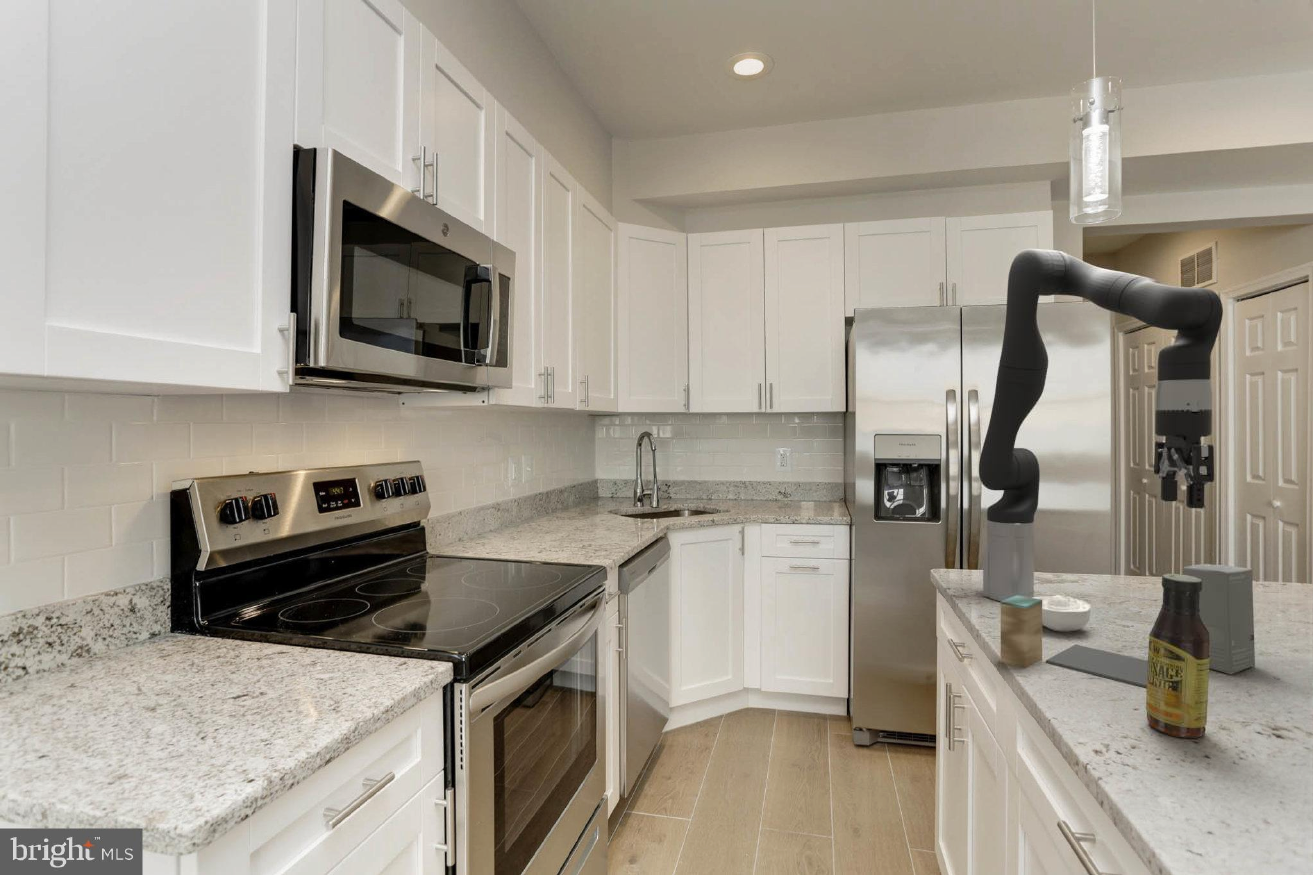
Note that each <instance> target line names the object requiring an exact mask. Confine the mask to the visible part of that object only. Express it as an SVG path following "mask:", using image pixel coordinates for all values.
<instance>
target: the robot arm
mask: <svg viewBox="0 0 1313 875" xmlns="http://www.w3.org/2000/svg"><path fill="white" fill-rule="evenodd" d="M1007 279H1008V280H1007V289H1006V290H1007V292H1006V293H1007V294H1006V308H1005V311H1006V312H1005V313H1006V314H1005V323H1004V332H1003V340H1002V346H1001V354H1000V359H999V363H998V368H997V374H996V381H995V382H996V383H995V391H994V396H993V397H994V398H993V403H992V406H991V408H992V409H991V413H990V419H989V424H988V427H987V430H986V434H985V438H984V442H983V446H982V448H981V453H980V457H979V461H978V475H979V479H980V482H981V484H982V485H983V486H984V488H986V489H987V490H990V491H1003V492H1002V496H1001V498H1000V499H999V500H997V501H995V503H993V504H991V505H990V506H988V508H987V511H986V542H987V543H986V545H987V546H986V549H987V550H986V552H985V553H983V555H982V578H983V579H982V590H983V591H982V595H983V596H982V597H986V598H989V599H992V600H995V601H998V602H999V601H1000V602H1001V601H1003V600H1006V599H1008V598H1011V597H1014V596H1017V595H1019V596H1024V597H1029V598H1033V597H1035V551H1034V550H1035V515H1036V512H1037V510H1038V506H1039V497H1040V496H1039V494H1040V479H1041V478H1040V477H1041V476H1040V475H1041V474H1040V472H1041V471H1040V465H1039V461H1038V458H1037V456H1036V455H1035V453H1034V452H1033V451H1031V450H1030V449H1028V448H1025V447H1015V444H1016V440H1017V436H1018V433H1019V430H1020V428H1021V426H1022V425H1023V423H1024V421H1025V419H1026V418H1027V417H1028V416H1029V414H1030V413H1031V411H1033V409H1034V407H1035V406H1036V405H1037V403H1038V401H1039V400H1040V398H1041V397H1042V394H1043V392H1044V391H1045V390H1044V389H1045V386H1046V379H1047V375H1048V374H1047V373H1048V368H1049V357H1048V356H1049V355H1048V351H1047V349H1046V346H1045V343H1044V341H1043V336H1042V335H1041V332H1040V330H1039V326H1038V319H1037V314H1038V304H1039V299H1040V296H1041V297H1043V296H1044V297H1047V296H1058V295H1059V296H1072V297H1073V296H1074V297H1080V298H1083V299H1086V300H1088V301H1090V302H1091V303H1092V304H1094V305H1096V306H1097V307H1100V308H1102V309H1104V310H1106V311H1110V312H1113V313H1117V314H1119V315H1124V316H1127V317H1132V318H1135V319H1136V320H1138V321H1140V322H1142V323H1143V324H1146V325H1148V326H1152V327H1154V328H1157V329H1162V330H1170V331H1177V332H1176V336H1175V339H1174V343H1173V344H1171V345H1168V346H1165V347H1163V348H1162V349H1161V350H1160V351H1159V353H1158V356H1157V357H1158V358H1157V385H1156V390H1155V399H1154V400H1155V402H1154V403H1155V407H1154V408H1155V413H1154V415H1155V417H1154V418H1155V420H1154V422H1155V423H1154V433H1155V434H1154V435H1156V436H1158V437H1165V440H1156V441H1155V442H1154V455H1153V456H1154V458H1153V459H1154V460H1153V461H1154V462H1153V474H1154V475H1156V476H1157V475H1158V479H1160V500H1161V501H1164V502H1172V503H1173V502H1177V501H1178V486H1179V484H1178V478H1179V475H1180V474H1182V475H1183V476H1184V478H1185V480H1186V488H1185V489H1186V492H1185V493H1186V496H1185V498H1186V499H1185V500H1186V502H1185V505H1186V507H1187V508H1189V509H1203V508H1204V507H1205V486H1207V485H1208V483H1214V481H1215V459H1214V458H1215V455H1214V454H1215V452H1214V451H1215V450H1214V448H1215V447H1214V445H1213V444H1208V443H1207V444H1205V443H1202V440H1201V438H1203V437H1204V438H1206V437H1210V436H1211V435H1212V431H1213V429H1212V428H1213V426H1212V424H1213V421H1212V420H1213V391H1212V390H1213V389H1212V383H1211V377H1212V376H1211V374H1212V373H1211V372H1212V371H1211V368H1212V363H1211V361H1212V358H1211V354H1212V351H1213V349H1214V347H1215V344H1216V341H1217V337H1218V335H1219V331H1220V328H1221V324H1222V321H1223V316H1224V315H1223V314H1224V307H1223V302H1222V300H1221V298H1220V296H1219V295H1218V294H1217V292H1215V291H1213V290H1212V289H1209V288H1207V287H1191V286H1190V287H1188V286H1187V287H1186V286H1175V285H1168V284H1163V283H1161V282H1159V281H1158V280H1156V279H1154V278H1151V277H1147V276H1142V275H1138V274H1133V273H1130V272H1129V273H1128V272H1123V271H1118V270H1112V269H1106V268H1102V267H1099V266H1095V265H1094V264H1093V265H1092V264H1090V263H1088V262H1085V261H1084V260H1081V259H1079V258H1077V257H1074V256H1072V255H1070V254H1068V253H1066V252H1064V251H1060V250H1055V249H1052V250H1051V249H1041V248H1040V249H1039V248H1026V249H1023V250H1021V251H1020V252H1018V254H1016V256H1015V257H1014V258H1013V259H1012V262H1011V265H1010V268H1009V272H1008V278H1007Z"/></svg>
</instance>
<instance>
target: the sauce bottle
mask: <svg viewBox="0 0 1313 875" xmlns="http://www.w3.org/2000/svg"><path fill="white" fill-rule="evenodd" d="M1161 587H1162V589H1163V590H1162V604H1161V608H1160V610H1159V612H1158V615H1157V617H1156V619H1155V621H1154V624H1153V626H1152V628H1151V631H1150V633H1149V636H1148V637H1149V638H1148V647H1147V648H1148V652H1147V653H1148V654H1147V655H1148V656H1147V661H1148V670H1147V688H1146V702H1145V710H1146V720H1147V722H1148V724H1149V725H1150V726H1151V728H1154V729H1155V730H1157V731H1159V732H1161V733H1164V734H1167V735H1169V736H1172V737H1175V738H1186V739H1188V738H1189V739H1195V738H1196V739H1197V738H1201V737H1202V736H1204V735H1205V733H1206V726H1207V722H1208V704H1209V702H1208V701H1209V700H1208V699H1209V680H1210V679H1209V678H1210V668H1209V662H1210V656H1209V643H1210V641H1209V632H1208V630H1207V628H1206V627H1205V625H1204V624H1203V622H1202V620H1201V618H1200V615H1199V612H1200V609H1199V596H1200V592H1201V590H1202V580H1201V579H1199V578H1196V577H1193V576H1188V575H1183V574H1180V573H1179V574H1178V573H1165V574H1163V575H1162V577H1161Z"/></svg>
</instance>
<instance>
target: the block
mask: <svg viewBox="0 0 1313 875" xmlns="http://www.w3.org/2000/svg"><path fill="white" fill-rule="evenodd" d="M1042 660H1043V625H1042V600H1040V599H1035V598H1029V597H1024V596H1019V595H1017V596H1014V597H1011V598H1008V599H1006V600H1003V601H1000V662H1001V663H1005V664H1008V665H1013V666H1015V667H1020V668H1024V669H1027V668H1029V667H1031V666H1033V665H1035V664H1037V663H1039V662H1041V661H1042Z"/></svg>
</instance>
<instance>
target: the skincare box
mask: <svg viewBox="0 0 1313 875" xmlns="http://www.w3.org/2000/svg"><path fill="white" fill-rule="evenodd" d="M1182 570H1183V571H1182V573H1183V574H1182V575H1188V576H1193V577H1196V578H1199V579H1201V580H1202V590H1201V592H1200V596H1199V609H1200V612H1199V615H1200V618H1201V620H1202V622H1203V624H1204V625H1205V627H1206V628H1207V630H1208V632H1209V641H1210V643H1209V656H1210V662H1209V669H1210V670H1215V671H1217V672H1222V673H1224V674H1228V675H1234V674H1235V673H1239V672H1240V671H1244V670H1246V669H1249V668H1252V667H1254V666H1256V651H1255V649H1256V648H1255V625H1254V624H1255V623H1254V622H1255V621H1254V615H1255V614H1254V590H1253V589H1254V587H1253V586H1254V585H1253V568H1248V567H1240V566H1232V565H1231V566H1230V565H1222V564H1215V563H1214V564H1213V563H1204V564H1193V565H1188V566H1184V567H1183V568H1182Z"/></svg>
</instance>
